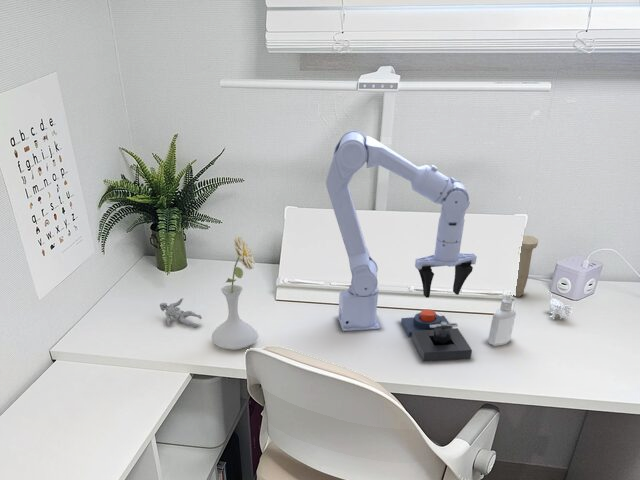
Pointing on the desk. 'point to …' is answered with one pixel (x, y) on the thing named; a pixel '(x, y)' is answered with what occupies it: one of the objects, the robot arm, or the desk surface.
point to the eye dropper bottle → (502, 323)
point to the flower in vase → (236, 307)
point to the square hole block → (441, 346)
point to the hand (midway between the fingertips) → (441, 294)
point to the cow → (558, 308)
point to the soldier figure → (178, 313)
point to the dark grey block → (442, 333)
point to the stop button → (427, 315)
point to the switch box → (420, 323)
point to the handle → (525, 262)
